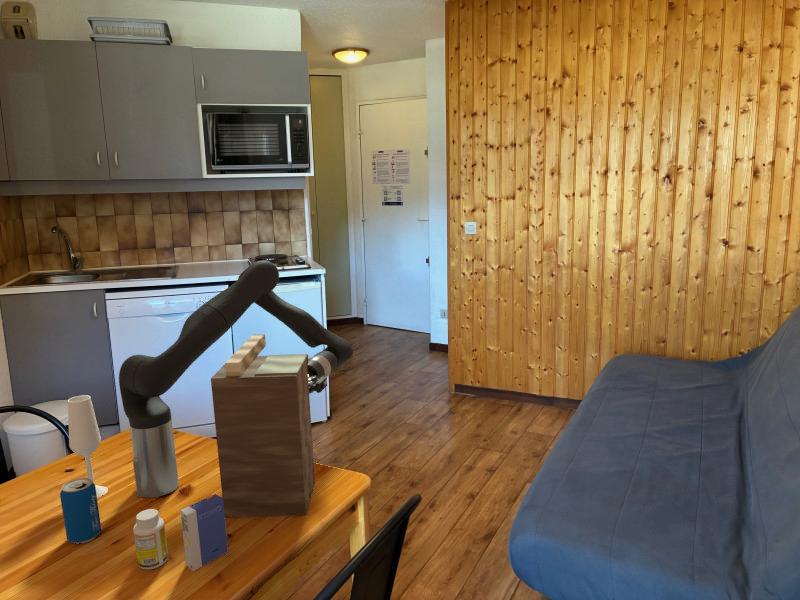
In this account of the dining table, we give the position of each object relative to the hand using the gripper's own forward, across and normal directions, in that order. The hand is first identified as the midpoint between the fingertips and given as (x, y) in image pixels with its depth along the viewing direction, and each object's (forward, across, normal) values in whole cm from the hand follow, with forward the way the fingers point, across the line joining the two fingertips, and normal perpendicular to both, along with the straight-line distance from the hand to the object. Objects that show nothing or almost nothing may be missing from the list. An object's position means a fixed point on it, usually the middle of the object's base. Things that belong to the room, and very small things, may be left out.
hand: (285, 393), depth 145 cm
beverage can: (+35, -31, +21) cm, 51 cm away
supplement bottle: (+39, -11, +21) cm, 46 cm away
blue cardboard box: (+36, -1, +21) cm, 42 cm away
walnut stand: (+12, +1, +21) cm, 24 cm away
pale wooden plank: (+8, -5, -11) cm, 14 cm away
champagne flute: (+20, -44, +21) cm, 52 cm away
